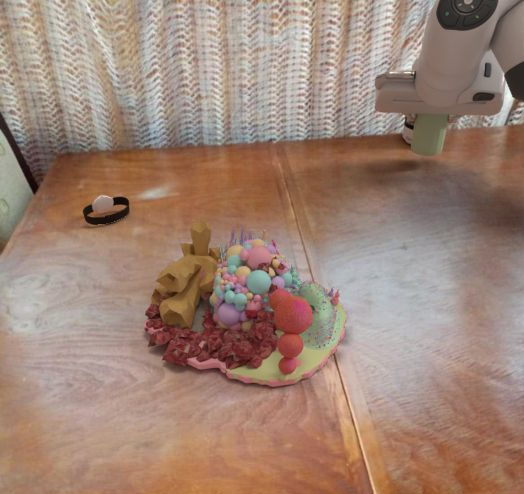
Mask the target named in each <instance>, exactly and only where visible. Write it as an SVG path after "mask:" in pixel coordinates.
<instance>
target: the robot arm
mask: <svg viewBox="0 0 524 494" xmlns="http://www.w3.org/2000/svg"><path fill="white" fill-rule="evenodd" d="M421 41H422V42H421V51H420V53H419V55H418V56H419V59H418V64H417V68H416V70H412V69H389V70H386V71H385V72H383V73H380V74H377V75H376V76H375V78H374V87H375V89H376V90H375V91H376V92H375V98H374V99H375V100H374V110H375V111H377V112H378V113H382V114H383V113H386V114H389V113H390V114H402V115H403V116H404V117H405V116H406V117H407V122H415V120H416V115H417V114H449V117H448V124H456V123H457V121H458V120H459V119H461V118H463V117H466V116H488V117H489V116H490V117H492V116H496V115H498V114H500V112H501V111H502V108H503V105H504V101H505V93H506V85H507V87H508V89H509V92H510V95H511V97H512V98H513V99H516V100H518V101H520V102H523V103H524V0H435V2H434V3H433V5H432V7H431V9H430V12H429V15H428V18H427V21H426V23H425V27H424V32H423V37H422V40H421Z"/></svg>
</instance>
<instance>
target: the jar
mask: <svg viewBox="0 0 524 494" xmlns="http://www.w3.org/2000/svg"><path fill="white" fill-rule="evenodd" d="M448 117H449V114H417V115H416V120H415V123H414V130H413V136H412V143H411V144H410V151H411V152H412V153H414V154H416V155H418V156H425V157H432V156H438V155H440V154H441V153H442V152H443V148H444V143H445V139H446V134H445V133H447V129H448V124H449V123H448ZM447 123H448V124H447ZM446 128H447V129H446ZM444 138H445V139H444Z"/></svg>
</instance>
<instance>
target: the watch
mask: <svg viewBox="0 0 524 494" xmlns="http://www.w3.org/2000/svg"><path fill="white" fill-rule="evenodd" d="M114 206H125V208H123V209H121V210H119V211H116V212H114V213H111V214H106V215H104V216H89V215H91V214H92V213H97V214H105V213H104V212H106V213H108V212H109V211H110V210H111V209H112V208H113V207H114ZM107 211H108V212H107ZM130 211H131V209H130V200H129V199H128V198H127V197H125V196H114V197H111V196H108V195H105V194H104V195H103V194H100V195H99V196H97V197H96V198H95V199H94V201H92V203H90V204H88V205H86V206H85V207H84V208H83V209H82V214H83V217H84V221H85V222H86V223H87V224H89V225H92V226H99V225H98V224H105V225H107V224H106V223H110V224H112V223H111V222H114V221H116V222H118V221H120V220H122V219H124V218H126V217H127V216H128V215H129V213H130ZM125 216H126V217H125ZM121 218H122V219H121ZM119 219H120V220H119ZM117 220H118V221H117ZM114 223H115V222H114Z"/></svg>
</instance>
